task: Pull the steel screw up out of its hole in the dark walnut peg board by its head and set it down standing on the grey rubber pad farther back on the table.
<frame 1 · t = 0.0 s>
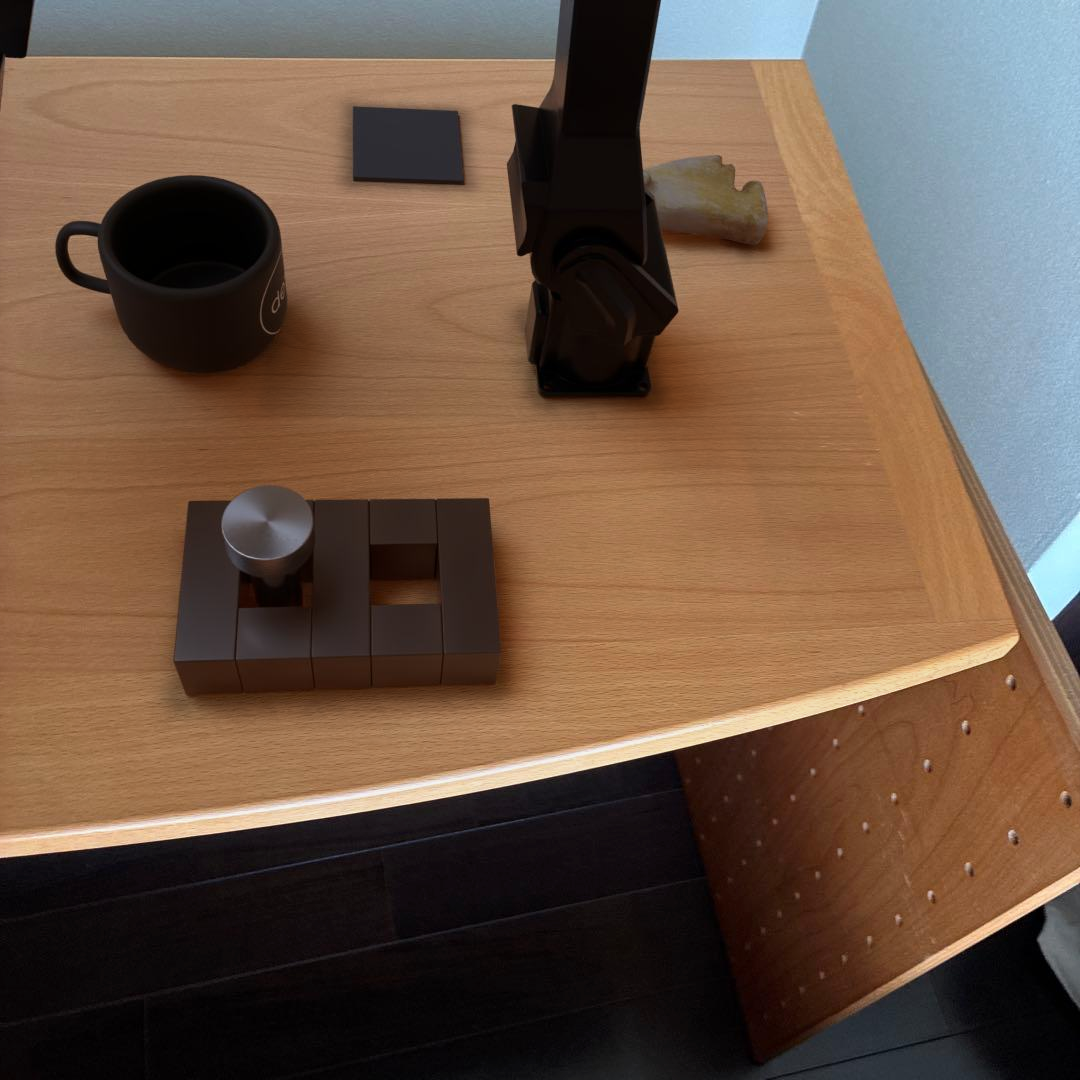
pad: (407, 146, 72), on the table
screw: (282, 612, 53), resting in board
board: (343, 610, 53), on the table
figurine: (642, 218, 71), on the table
mug: (182, 327, 62), on the table
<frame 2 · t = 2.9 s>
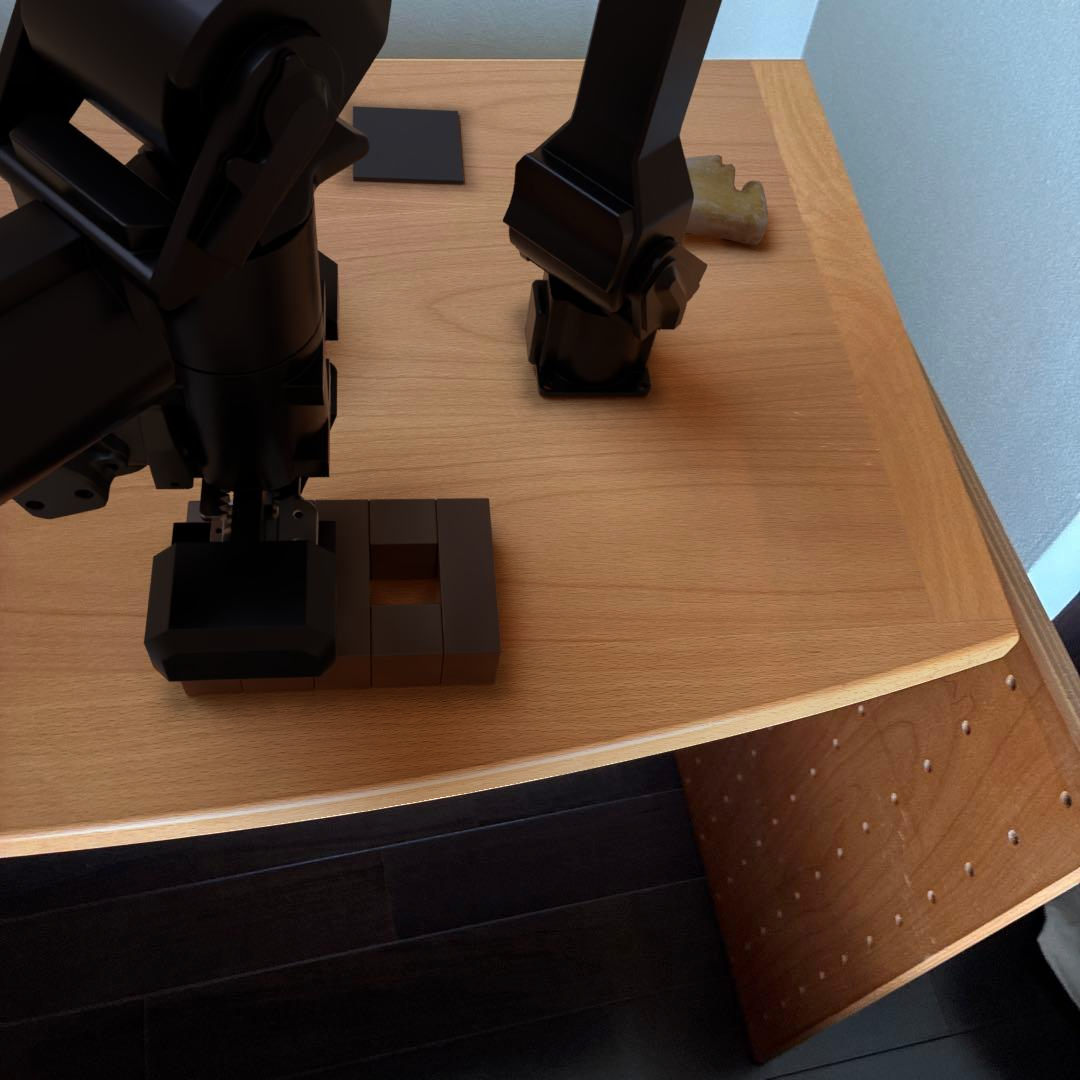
hand: (273, 557, 49), 5 cm above the table, tool pointing down, fingers closed on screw, 4 cm apart
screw: (282, 612, 53), resting in board, touching gripper
everything else where it was.
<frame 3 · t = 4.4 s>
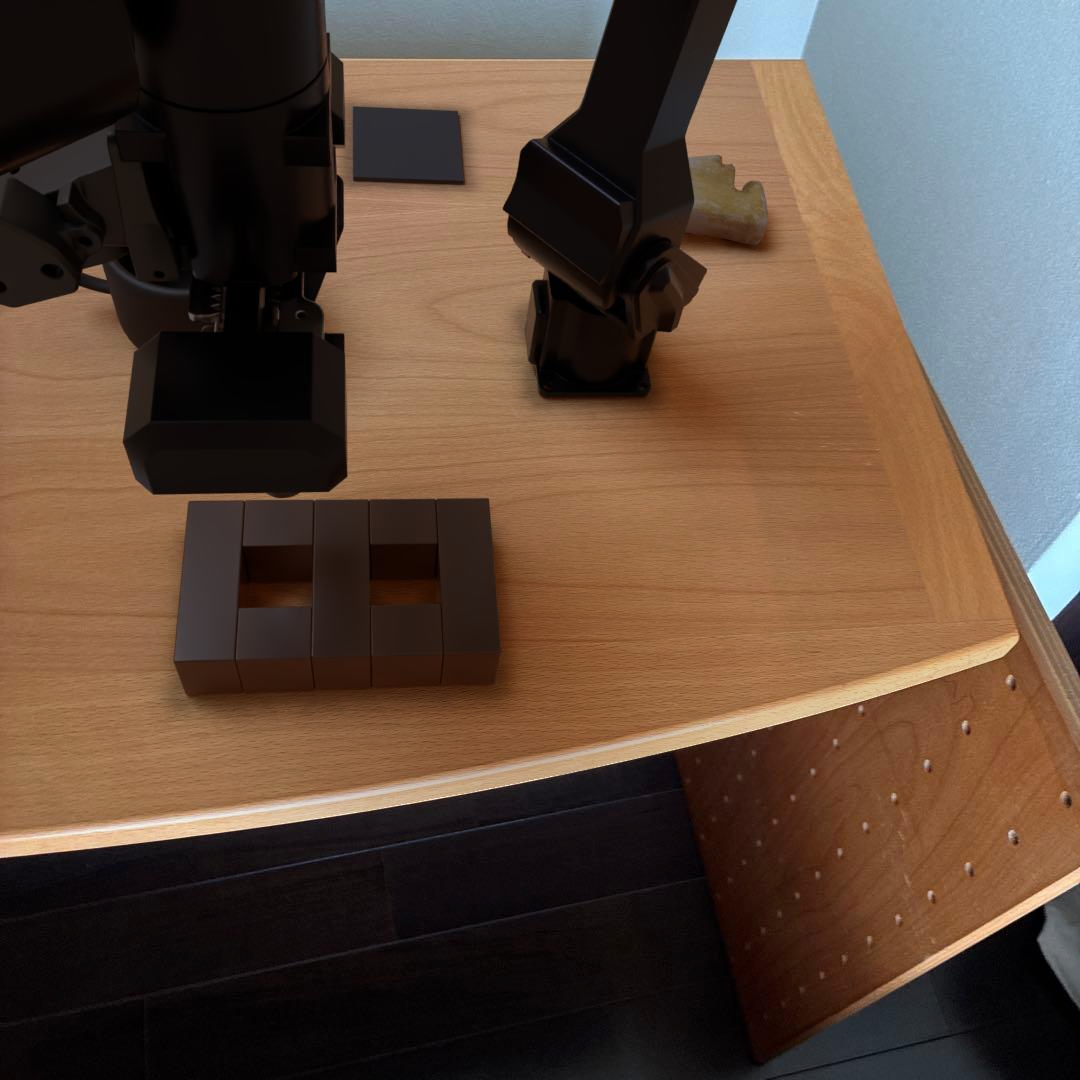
hand: (273, 403, 44), 13 cm above the table, tool pointing down, fingers closed on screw, 4 cm apart
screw: (283, 477, 48), point 8 cm above the table, touching gripper
everything else where it was.
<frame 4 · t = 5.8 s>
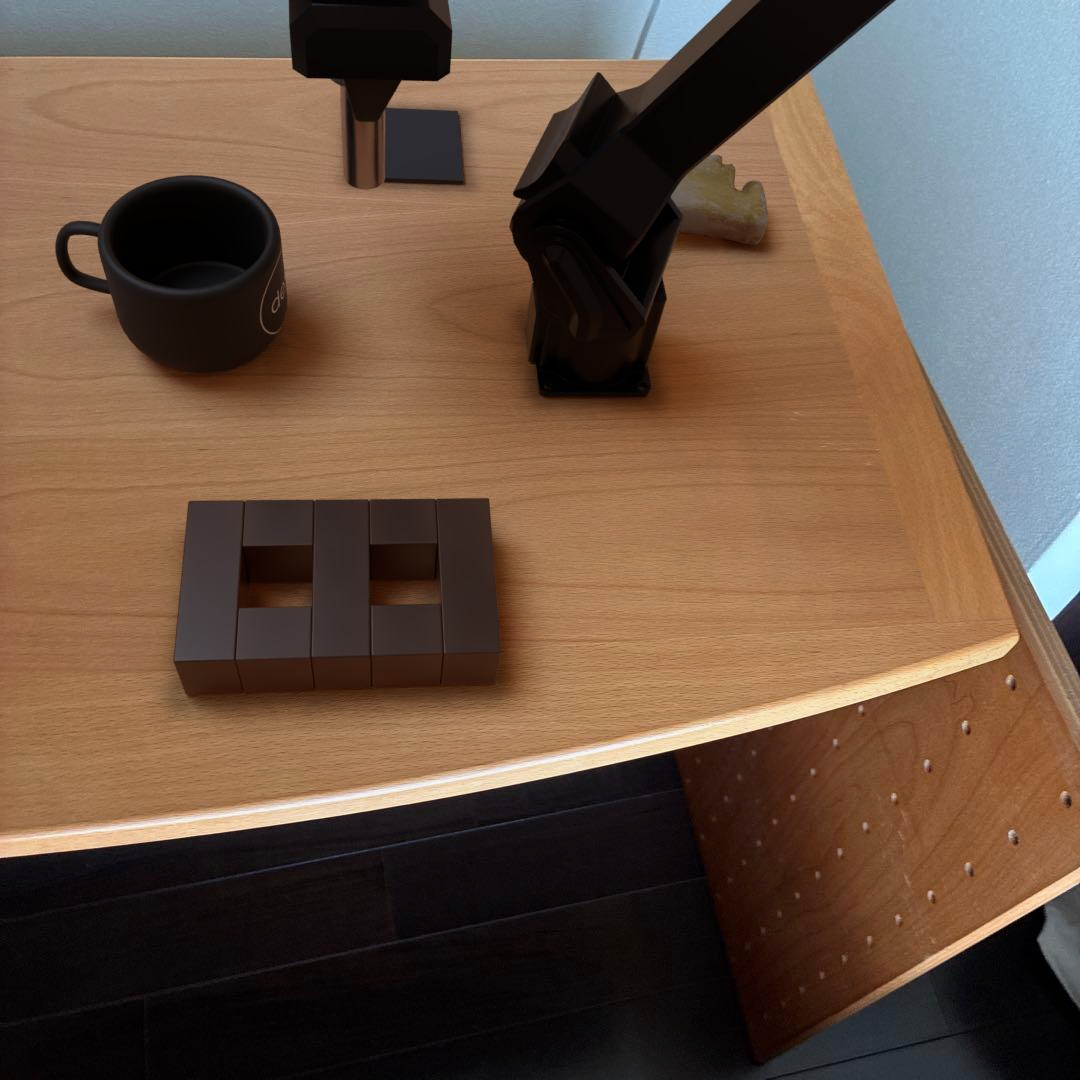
hand: (364, 92, 54), 13 cm above the table, tool pointing down, fingers closed on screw, 4 cm apart
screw: (364, 176, 58), point 8 cm above the table, touching gripper
everything else where it was.
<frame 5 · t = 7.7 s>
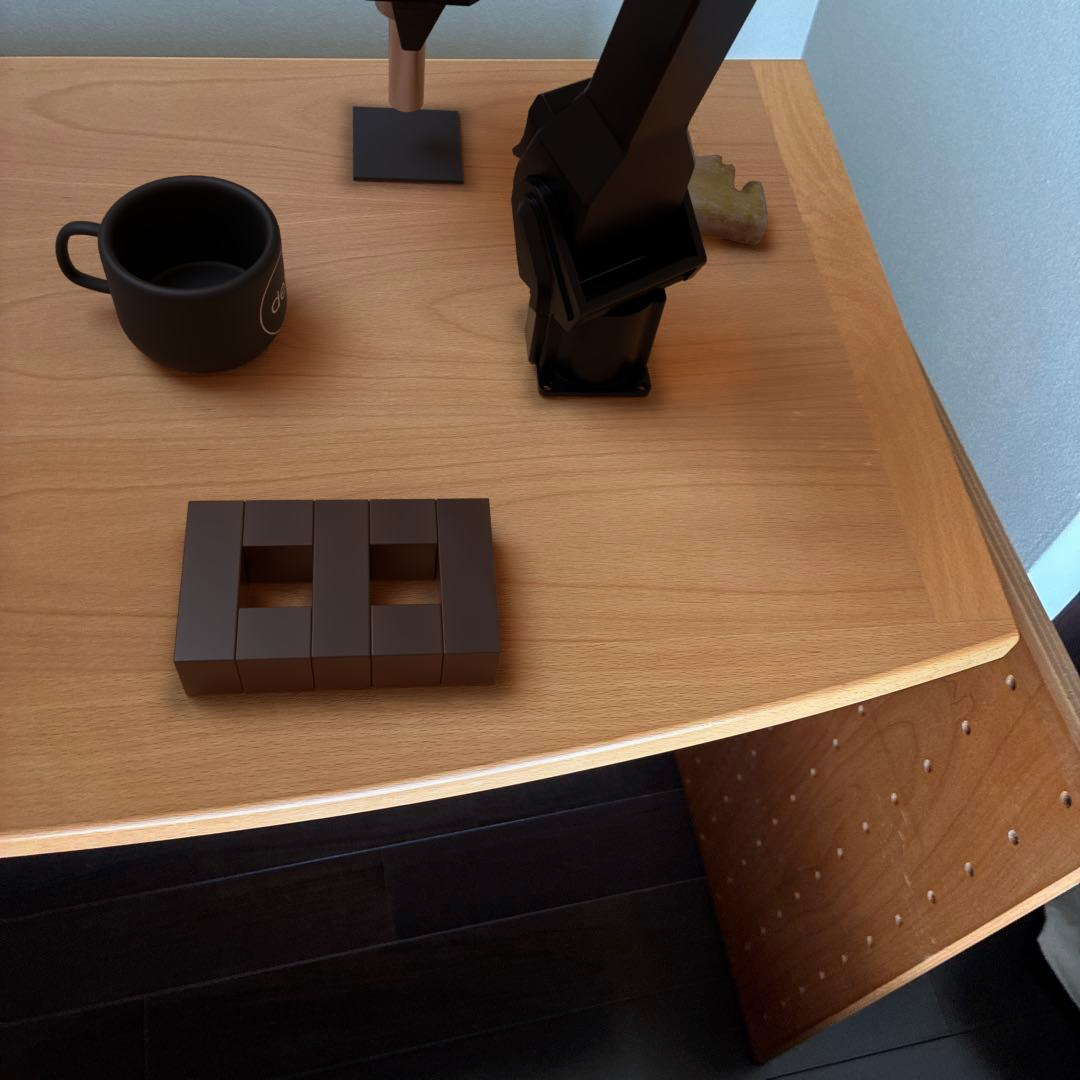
hand: (409, 28, 65), 8 cm above the table, tool pointing down, fingers closed on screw, 4 cm apart
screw: (406, 101, 69), point 3 cm above the table, touching gripper
everything else where it was.
when the fingers open (5 cm above the table, at t = 8.9 s): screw stays where it is, resting on pad.
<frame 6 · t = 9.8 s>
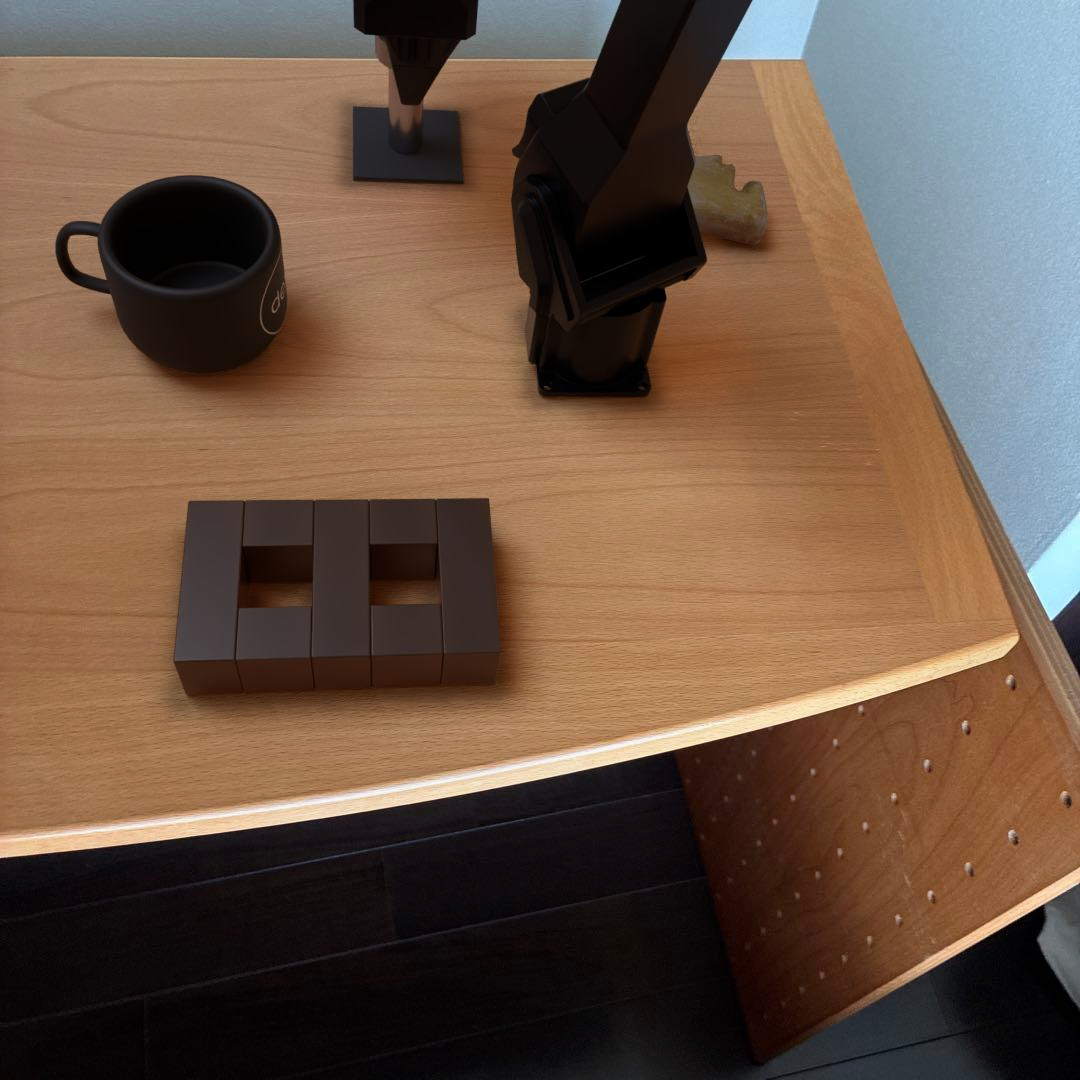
hand: (408, 55, 67), 7 cm above the table, tool pointing down, fingers open, 9 cm apart
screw: (405, 143, 72), resting on pad
everything else where it was.
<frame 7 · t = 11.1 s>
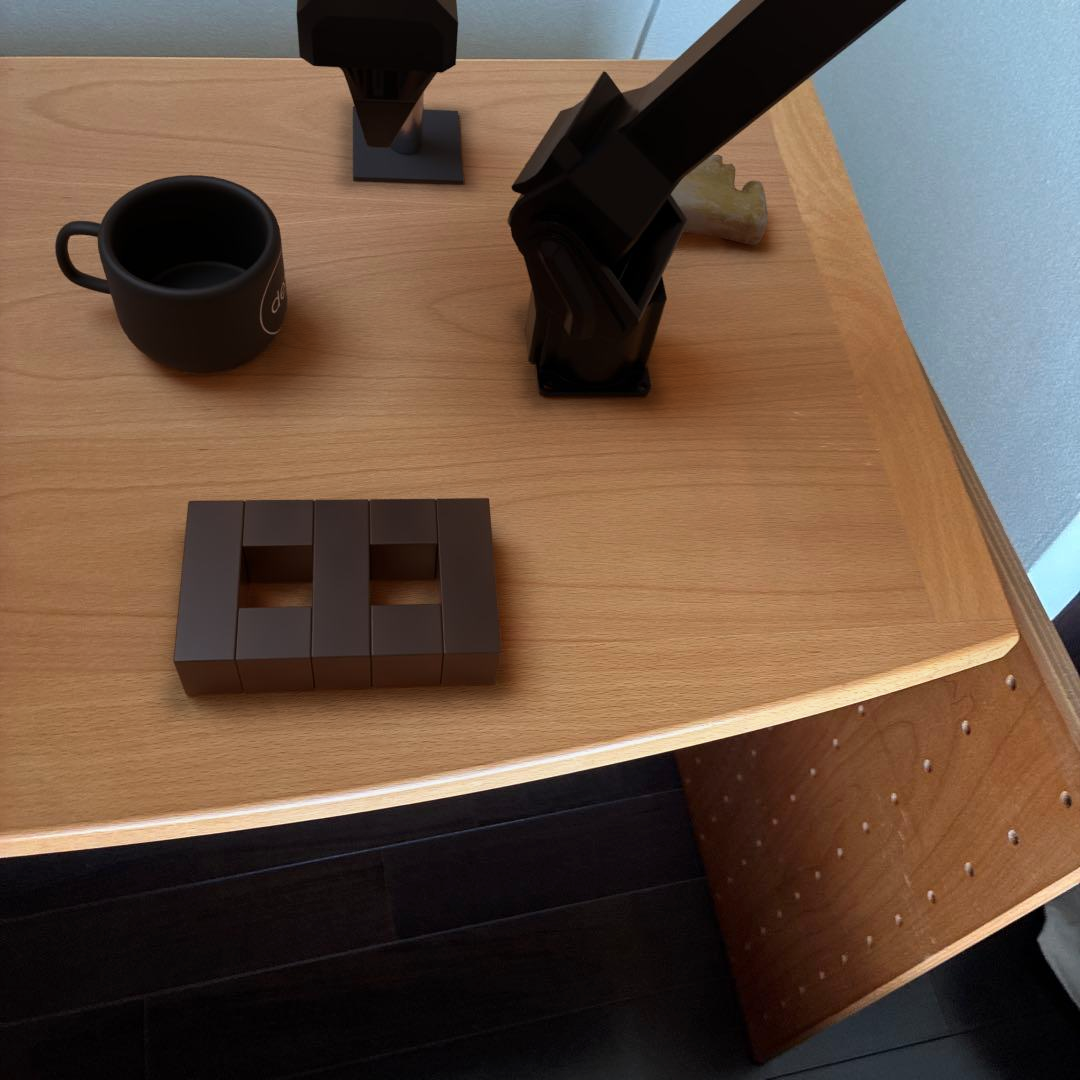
hand: (377, 84, 55), 13 cm above the table, tool pointing down, fingers open, 9 cm apart
nothing on the table moved.
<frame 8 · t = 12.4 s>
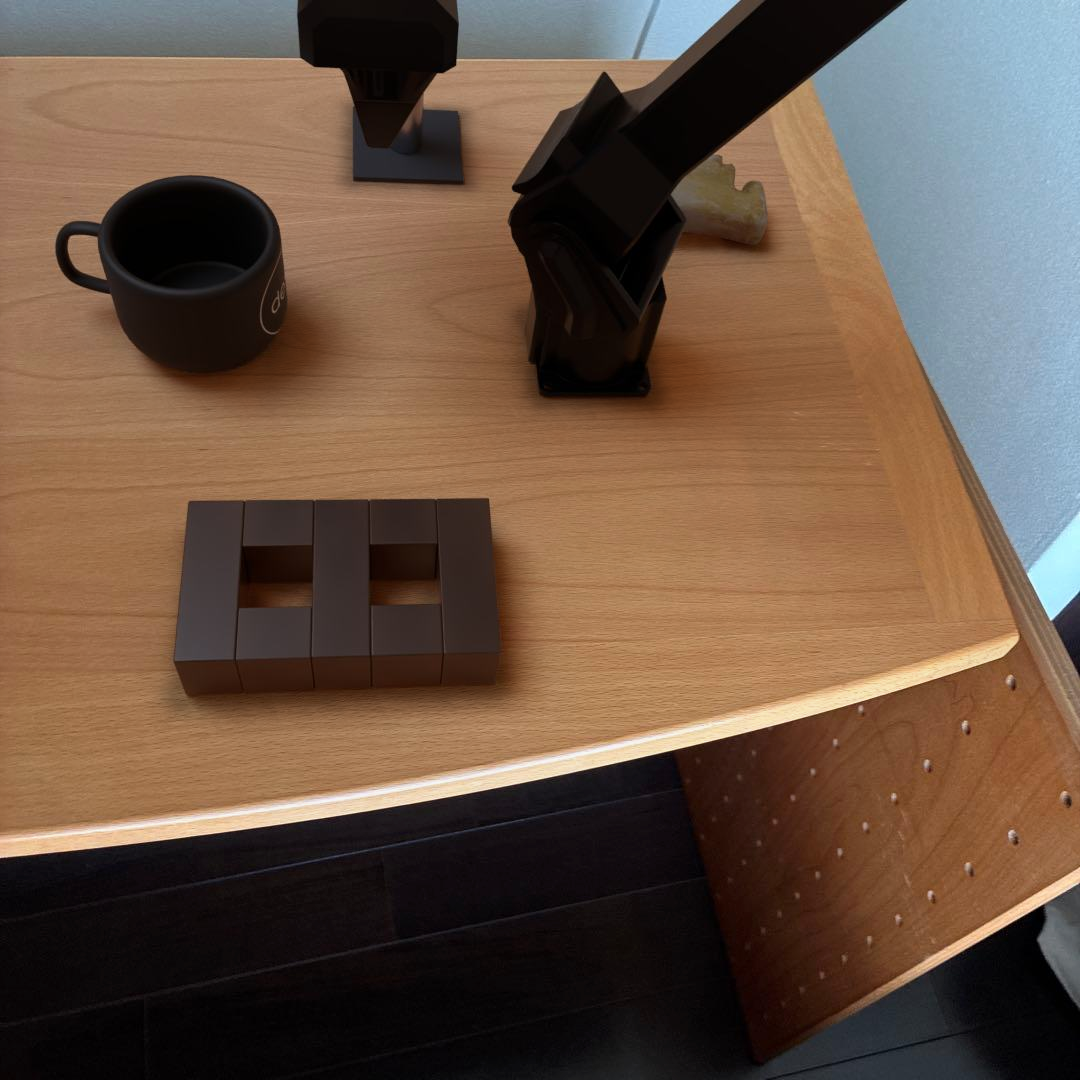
hand: (377, 85, 55), 13 cm above the table, tool pointing down, fingers open, 9 cm apart
nothing on the table moved.
at the end: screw 0.1 cm off-centre on the pad, point 0.3 cm above the pad's base; the gripper is holding nothing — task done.
